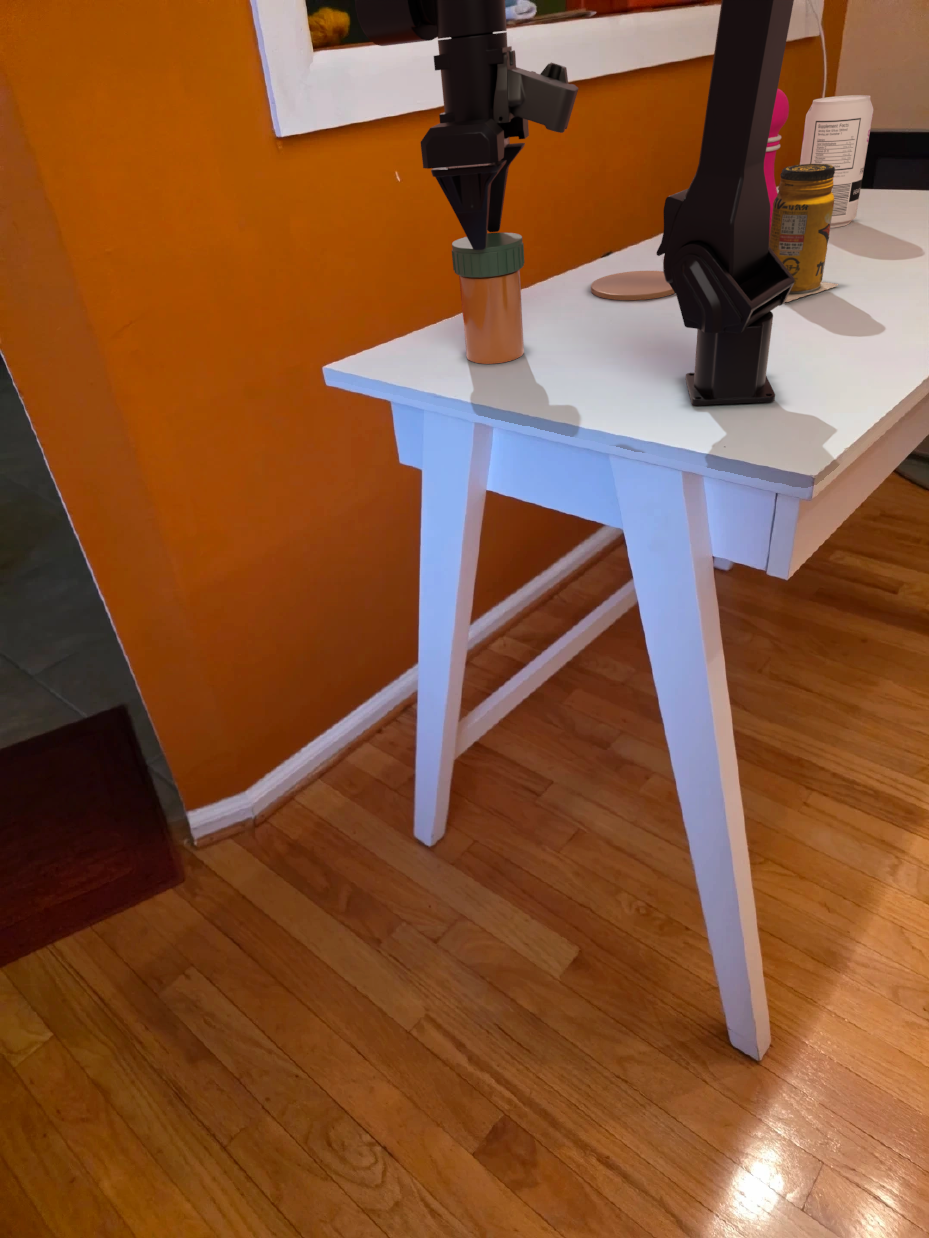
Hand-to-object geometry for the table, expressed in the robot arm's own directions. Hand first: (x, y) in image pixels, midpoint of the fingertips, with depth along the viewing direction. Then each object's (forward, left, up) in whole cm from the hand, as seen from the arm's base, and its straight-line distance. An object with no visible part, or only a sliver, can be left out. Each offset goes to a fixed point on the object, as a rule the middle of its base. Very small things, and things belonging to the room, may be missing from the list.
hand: (487, 240), depth 77 cm
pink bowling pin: (+32, -29, -11) cm, 45 cm away
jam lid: (0, 0, 0) cm, 0 cm away
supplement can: (+50, -42, -11) cm, 66 cm away
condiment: (+17, -31, -11) cm, 37 cm away
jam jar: (0, 0, -11) cm, 11 cm away
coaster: (+22, -15, -11) cm, 29 cm away
